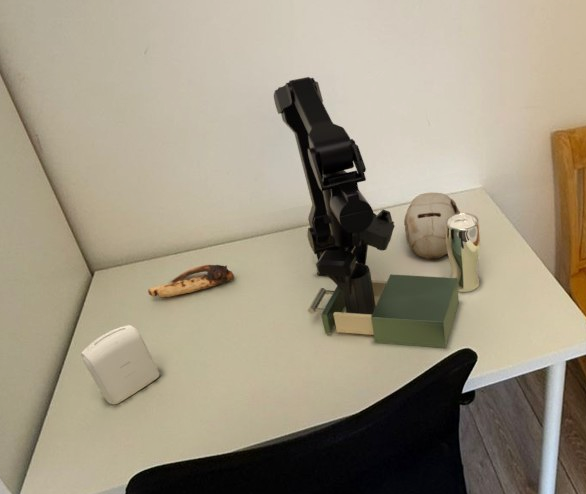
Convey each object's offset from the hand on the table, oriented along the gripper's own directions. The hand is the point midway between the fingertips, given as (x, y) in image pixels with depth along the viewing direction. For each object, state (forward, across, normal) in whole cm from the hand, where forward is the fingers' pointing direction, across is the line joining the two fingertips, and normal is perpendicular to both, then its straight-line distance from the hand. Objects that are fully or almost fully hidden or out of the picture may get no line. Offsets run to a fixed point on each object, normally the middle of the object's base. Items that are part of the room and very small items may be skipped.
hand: (355, 280), depth 121 cm
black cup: (+7, 0, 0) cm, 7 cm away
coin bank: (+9, +30, -8) cm, 32 cm away
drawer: (+8, 0, +1) cm, 8 cm away
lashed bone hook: (+9, +7, +42) cm, 43 cm away
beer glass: (+9, +14, -18) cm, 25 cm away
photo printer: (+9, -25, +36) cm, 45 cm away
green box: (+9, 0, -12) cm, 15 cm away
